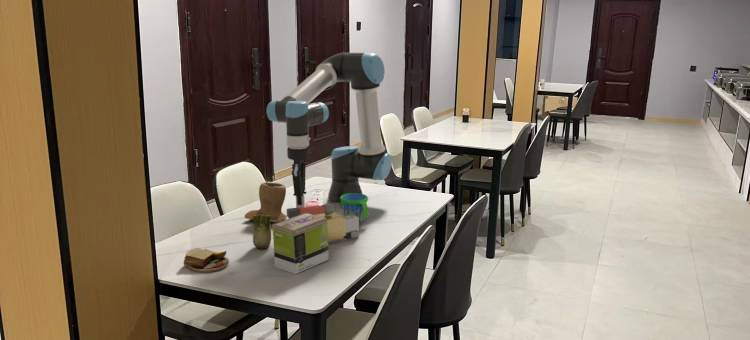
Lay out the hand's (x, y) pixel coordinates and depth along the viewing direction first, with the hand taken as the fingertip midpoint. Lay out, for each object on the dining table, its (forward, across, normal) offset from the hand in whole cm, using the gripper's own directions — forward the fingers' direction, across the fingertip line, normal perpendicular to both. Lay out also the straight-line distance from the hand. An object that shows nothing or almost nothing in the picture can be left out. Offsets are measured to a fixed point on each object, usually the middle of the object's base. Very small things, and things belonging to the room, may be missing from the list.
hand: (300, 212), depth 210 cm
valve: (+11, +2, -9) cm, 14 cm away
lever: (0, -1, -4) cm, 4 cm away
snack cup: (+11, +24, -16) cm, 31 cm away
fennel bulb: (+11, -7, +12) cm, 18 cm away
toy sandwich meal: (+11, -24, +26) cm, 37 cm away
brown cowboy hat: (+11, +23, +18) cm, 31 cm away
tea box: (+11, -20, -4) cm, 23 cm away
